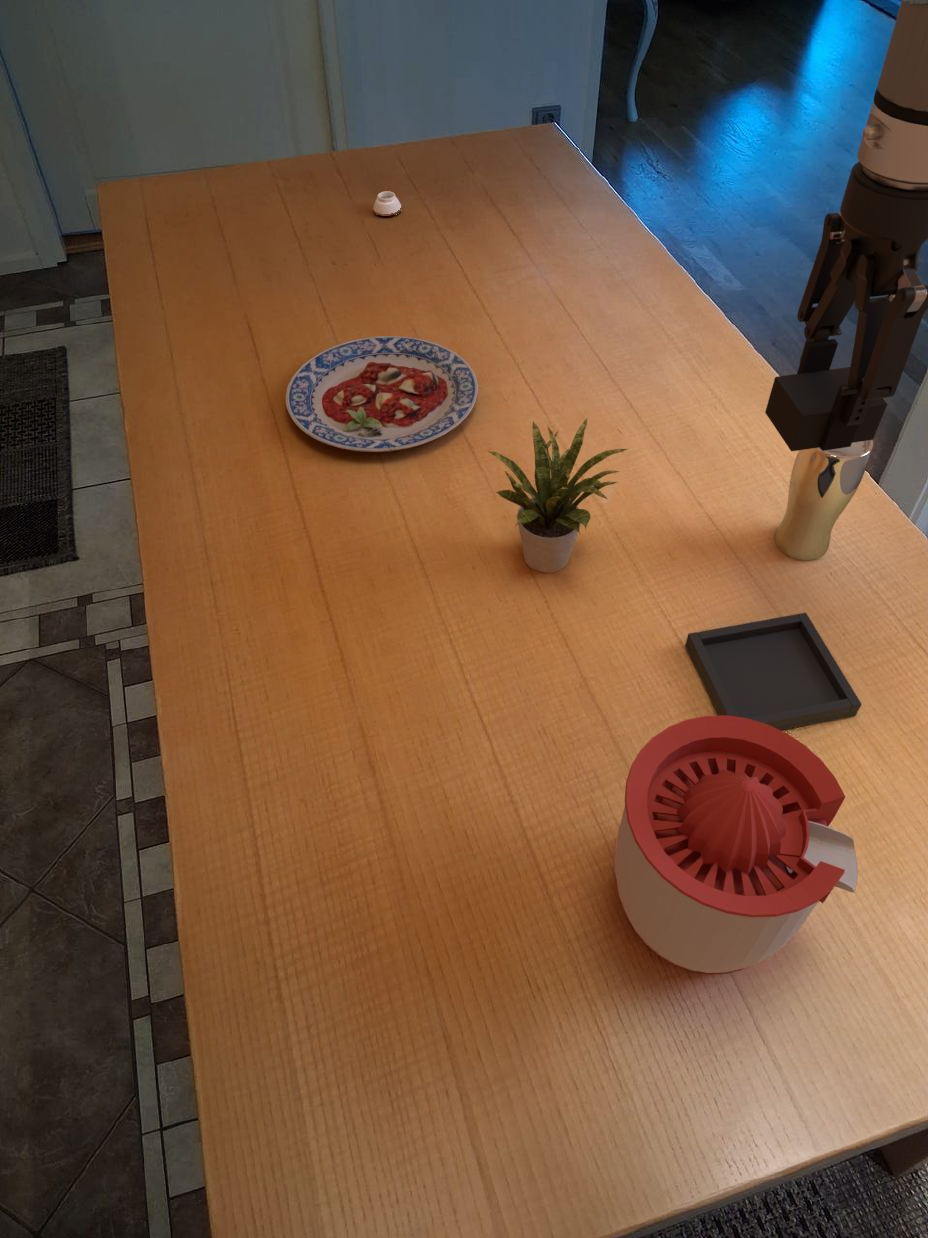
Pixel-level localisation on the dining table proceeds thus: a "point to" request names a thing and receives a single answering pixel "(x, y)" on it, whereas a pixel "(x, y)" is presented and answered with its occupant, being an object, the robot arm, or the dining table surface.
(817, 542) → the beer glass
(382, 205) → the lidless jar
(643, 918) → the citrus juicer
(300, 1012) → the dining table surface
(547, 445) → the house plant
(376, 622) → the dining table surface
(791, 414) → the black block
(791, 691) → the black square tray
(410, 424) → the ceramic plate
